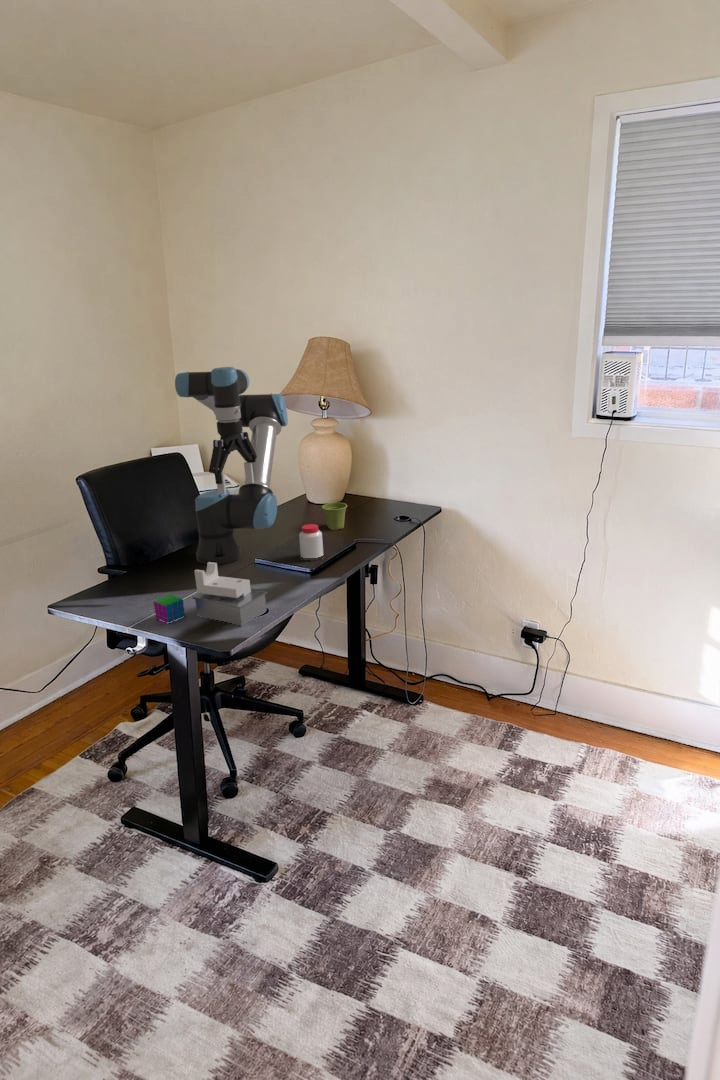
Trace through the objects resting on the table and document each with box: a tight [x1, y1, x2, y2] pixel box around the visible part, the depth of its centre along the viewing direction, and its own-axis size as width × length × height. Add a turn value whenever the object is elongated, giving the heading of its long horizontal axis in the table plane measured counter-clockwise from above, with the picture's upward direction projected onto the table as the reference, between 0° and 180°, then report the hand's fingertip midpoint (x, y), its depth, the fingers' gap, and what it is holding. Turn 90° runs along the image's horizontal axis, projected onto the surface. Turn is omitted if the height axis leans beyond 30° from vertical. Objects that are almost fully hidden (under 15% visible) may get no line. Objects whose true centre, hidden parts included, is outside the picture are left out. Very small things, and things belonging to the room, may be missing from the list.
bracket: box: [194, 562, 252, 598], centre depth 204 cm, size 13×7×8 cm, turn 67°
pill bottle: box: [298, 523, 324, 558], centre depth 246 cm, size 8×8×11 cm
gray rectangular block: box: [192, 587, 268, 627], centre depth 206 cm, size 17×12×6 cm
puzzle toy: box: [153, 594, 186, 622], centre depth 205 cm, size 6×6×6 cm
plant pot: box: [321, 502, 348, 531], centre depth 277 cm, size 9×9×9 cm
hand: (236, 488), depth 227 cm, fingers open, 13 cm apart
